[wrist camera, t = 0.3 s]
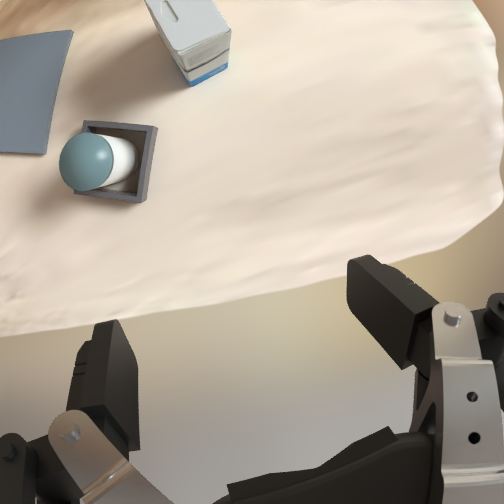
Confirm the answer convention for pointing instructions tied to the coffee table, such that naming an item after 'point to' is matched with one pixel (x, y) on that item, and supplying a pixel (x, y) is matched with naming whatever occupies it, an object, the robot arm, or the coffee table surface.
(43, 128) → the slate board
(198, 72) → the ink box
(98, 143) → the ball
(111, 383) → the robot arm
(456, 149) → the coffee table surface
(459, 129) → the coffee table surface
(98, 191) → the sleeve
